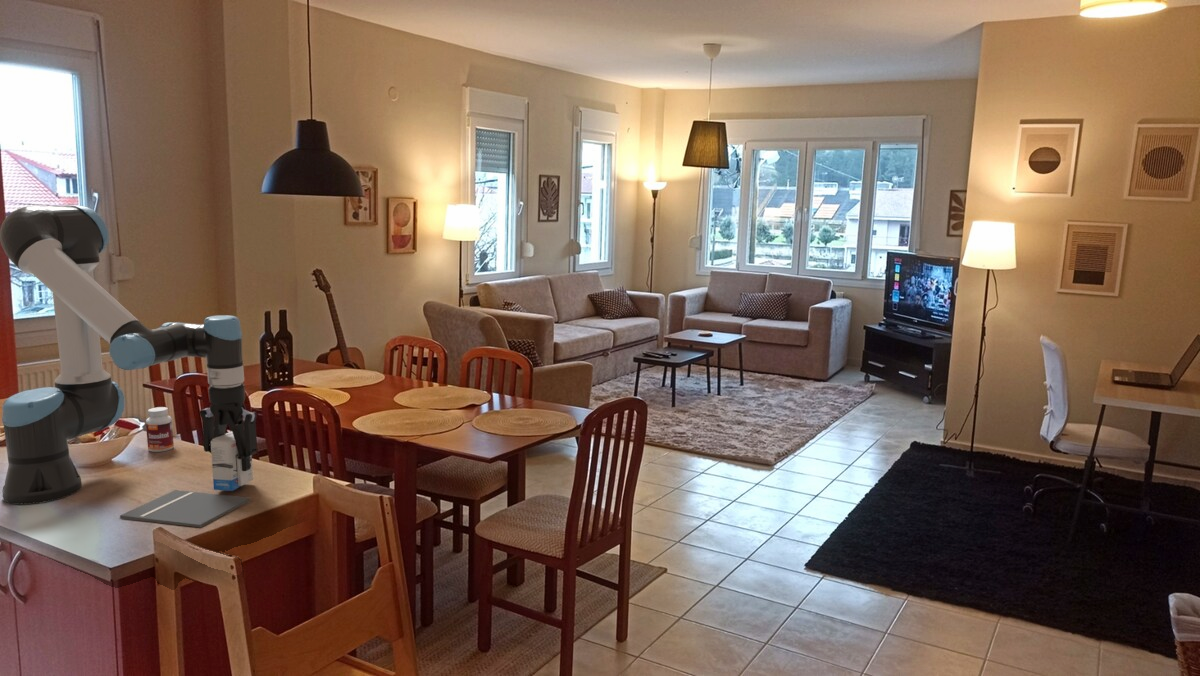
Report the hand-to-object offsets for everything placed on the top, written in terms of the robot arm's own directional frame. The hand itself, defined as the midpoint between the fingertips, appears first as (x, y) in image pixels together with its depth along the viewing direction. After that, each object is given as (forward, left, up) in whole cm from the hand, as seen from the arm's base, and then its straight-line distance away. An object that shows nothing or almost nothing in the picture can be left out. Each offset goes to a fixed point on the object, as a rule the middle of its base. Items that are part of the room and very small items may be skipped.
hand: (232, 482), depth 197 cm
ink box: (0, 0, -1) cm, 1 cm away
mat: (-2, -13, -2) cm, 13 cm away
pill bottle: (-40, +22, -2) cm, 45 cm away
